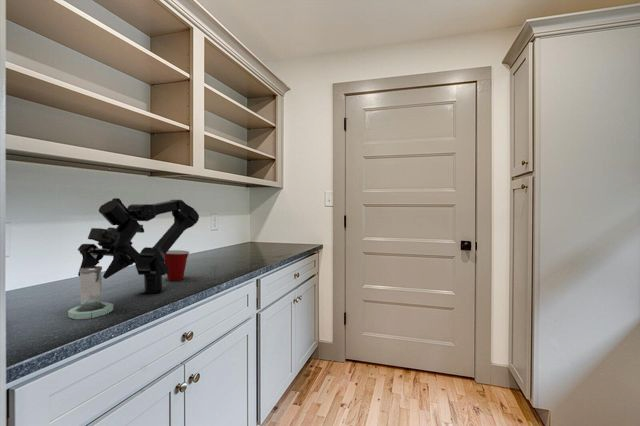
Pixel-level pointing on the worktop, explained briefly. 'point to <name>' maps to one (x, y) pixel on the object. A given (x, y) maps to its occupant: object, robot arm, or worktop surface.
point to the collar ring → (90, 312)
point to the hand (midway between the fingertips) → (91, 277)
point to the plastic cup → (176, 264)
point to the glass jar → (91, 288)
